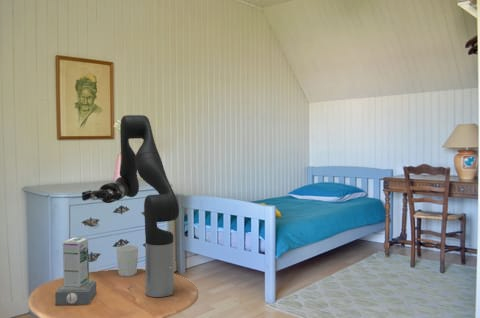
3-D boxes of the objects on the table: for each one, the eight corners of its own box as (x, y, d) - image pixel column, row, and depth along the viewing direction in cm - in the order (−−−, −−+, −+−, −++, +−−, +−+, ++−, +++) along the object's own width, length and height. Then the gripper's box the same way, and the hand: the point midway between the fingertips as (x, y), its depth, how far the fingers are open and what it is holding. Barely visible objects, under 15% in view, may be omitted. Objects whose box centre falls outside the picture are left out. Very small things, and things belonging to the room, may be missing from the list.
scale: (96, 292, 147) (96, 281, 147) (88, 305, 137) (88, 292, 137) (65, 293, 146) (65, 281, 146) (54, 305, 136) (54, 292, 136)
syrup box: (80, 287, 138) (79, 241, 138) (62, 286, 139) (62, 241, 139) (89, 281, 144) (88, 237, 143) (72, 280, 145) (72, 236, 144)
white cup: (117, 271, 171) (117, 245, 170) (138, 269, 173) (138, 244, 172) (116, 277, 163) (116, 251, 162) (138, 276, 165) (138, 249, 164)
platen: (92, 282, 146) (92, 279, 146) (86, 290, 138) (86, 288, 138) (67, 282, 145) (67, 280, 145) (59, 291, 137) (59, 288, 137)
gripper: (94, 182, 175) (75, 187, 159) (129, 183, 174) (114, 188, 157) (94, 201, 175) (76, 207, 159) (129, 202, 174) (114, 208, 158)
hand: (95, 198), depth 158 cm, fingers open, 8 cm apart
